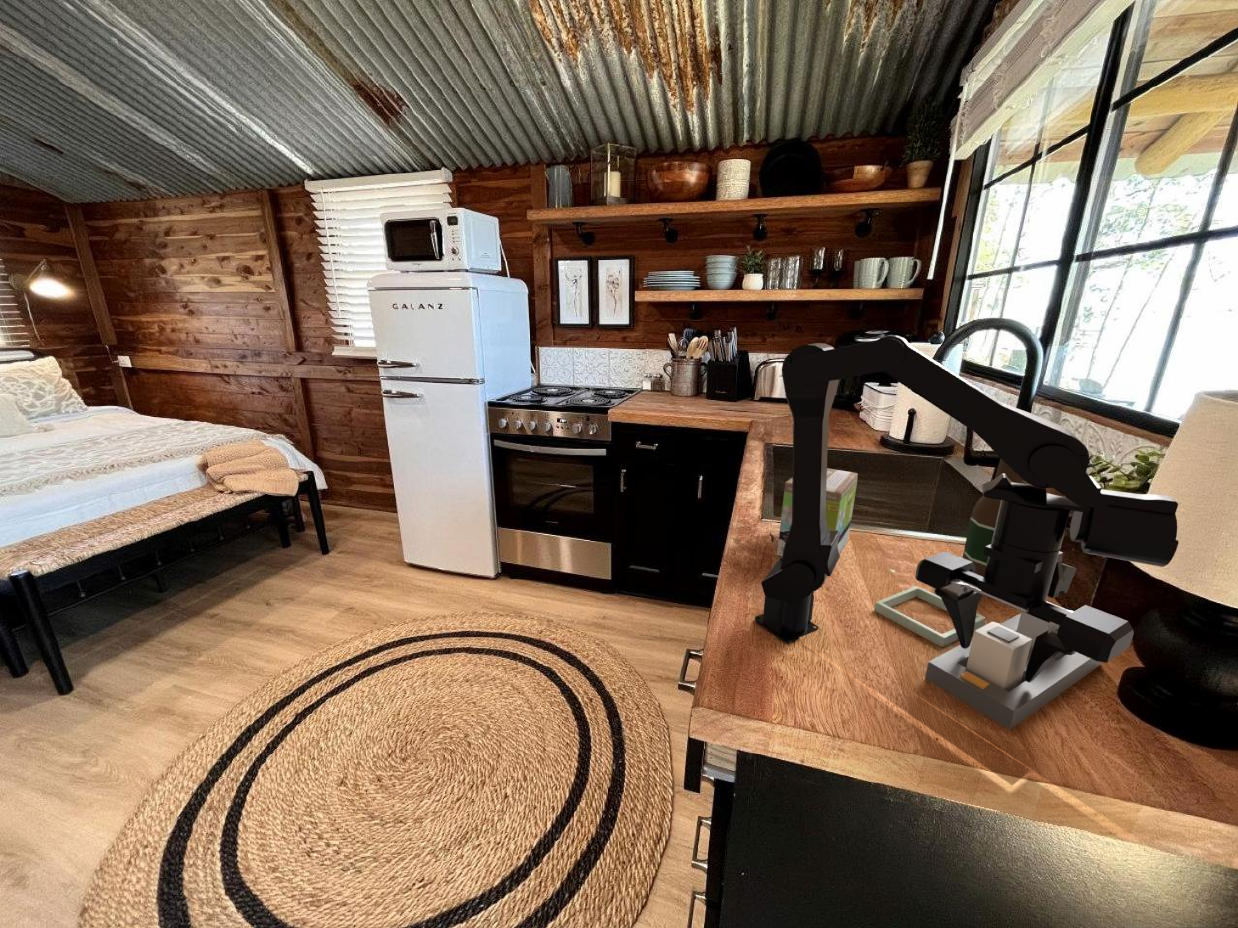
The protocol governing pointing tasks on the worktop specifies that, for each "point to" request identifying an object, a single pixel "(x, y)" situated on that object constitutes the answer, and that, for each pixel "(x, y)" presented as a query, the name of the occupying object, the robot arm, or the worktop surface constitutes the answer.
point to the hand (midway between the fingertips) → (995, 663)
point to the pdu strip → (998, 701)
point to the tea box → (837, 506)
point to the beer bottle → (985, 523)
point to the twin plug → (1034, 628)
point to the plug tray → (915, 626)
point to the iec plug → (999, 655)
